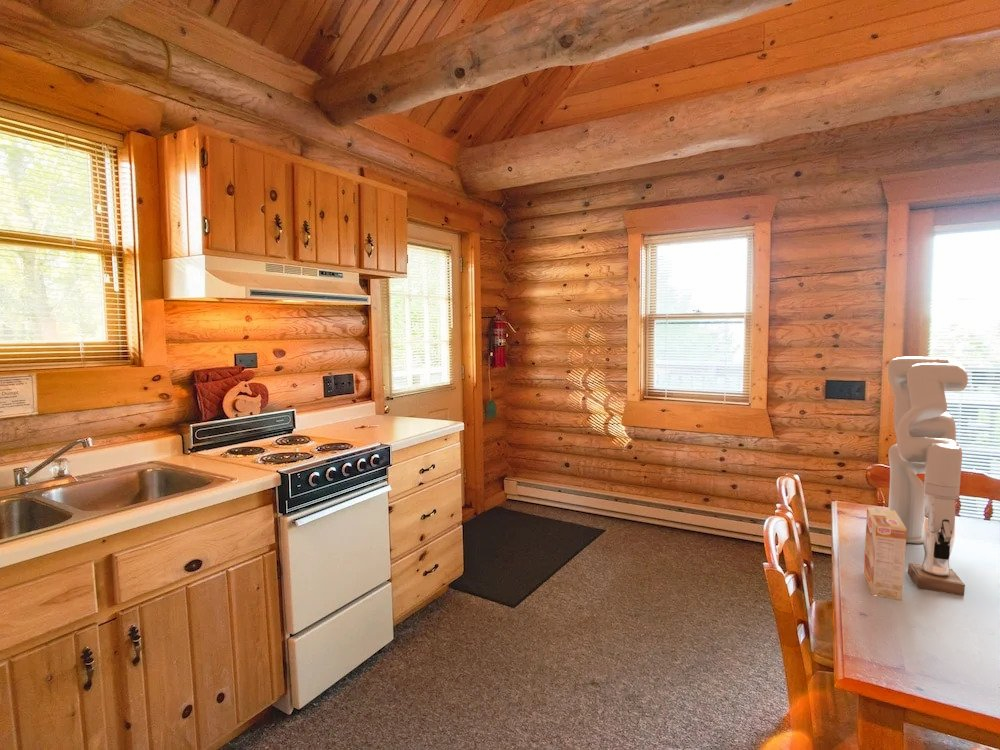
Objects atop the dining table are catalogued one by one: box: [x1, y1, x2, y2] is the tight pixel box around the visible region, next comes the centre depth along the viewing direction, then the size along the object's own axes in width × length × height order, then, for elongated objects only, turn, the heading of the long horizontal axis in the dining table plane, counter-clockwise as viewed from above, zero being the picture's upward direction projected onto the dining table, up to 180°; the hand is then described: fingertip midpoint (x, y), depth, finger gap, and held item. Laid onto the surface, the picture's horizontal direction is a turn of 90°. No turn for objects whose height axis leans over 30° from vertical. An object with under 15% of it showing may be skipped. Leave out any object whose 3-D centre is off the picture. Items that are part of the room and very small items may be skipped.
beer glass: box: [921, 515, 956, 576], centre depth 152 cm, size 7×7×15 cm
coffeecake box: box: [863, 507, 907, 601], centre depth 151 cm, size 15×7×20 cm, turn 154°
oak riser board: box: [907, 562, 966, 597], centre depth 153 cm, size 10×10×3 cm
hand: (936, 552), depth 152 cm, fingers closed on beer glass, 6 cm apart
